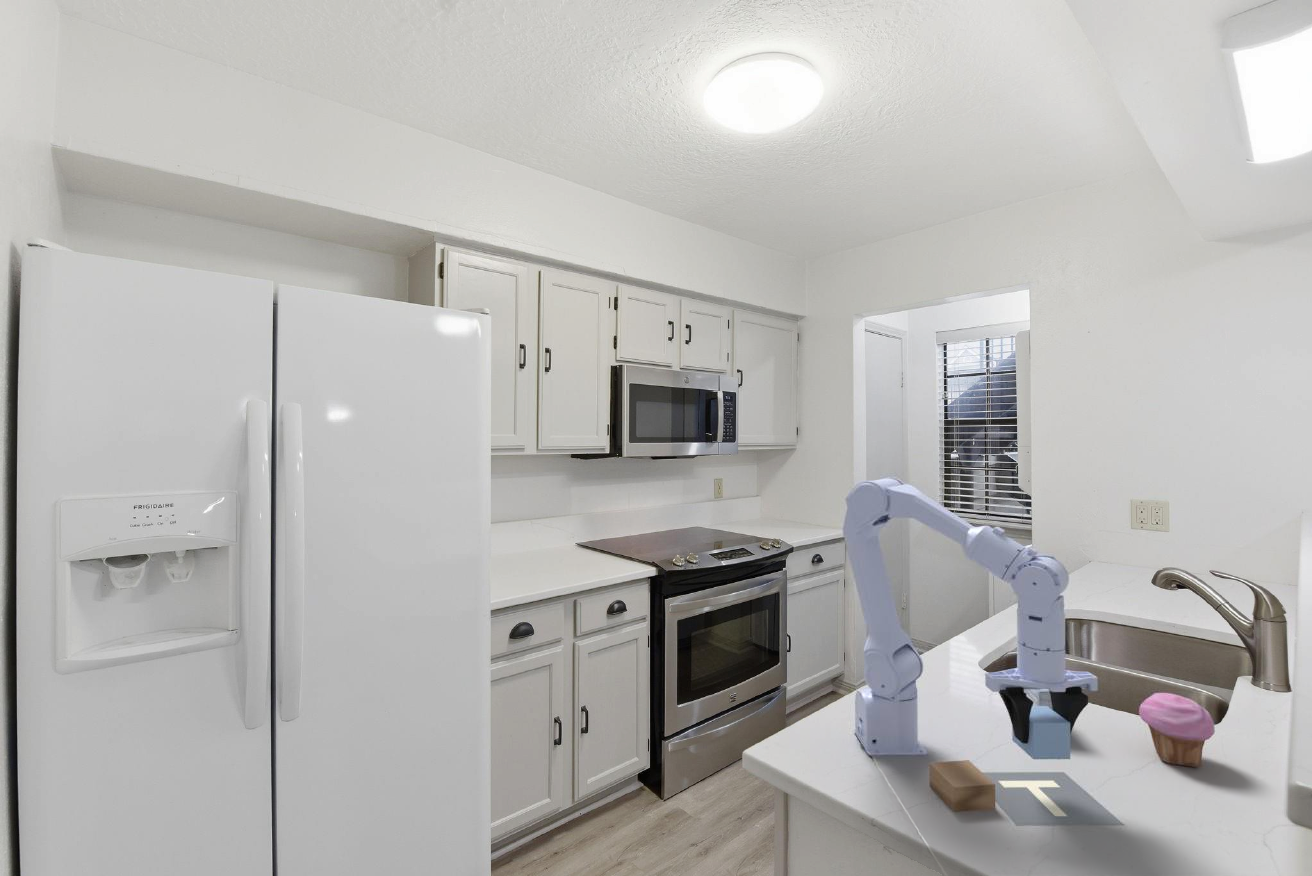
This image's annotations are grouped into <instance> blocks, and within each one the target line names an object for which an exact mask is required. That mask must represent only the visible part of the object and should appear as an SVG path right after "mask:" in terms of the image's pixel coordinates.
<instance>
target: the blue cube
mask: <svg viewBox="0 0 1312 876" xmlns="http://www.w3.org/2000/svg"><path fill="white" fill-rule="evenodd" d="M1011 728H1012V731H1011V733H1012V734H1011V736H1012V739H1011V740H1012V742H1013V743H1015V744H1016V746H1018V747H1019V748H1020V749H1021V750H1022V751H1023V752H1024V753H1026V754H1027V755H1028V756H1029V757H1030V758H1031V759H1032V760H1071V735H1070V722H1068V721H1067V720H1065V719H1064V718H1063V717H1061V716H1060V715H1059V714H1057V713H1056V712H1054V711H1053V710H1052V709H1050V708H1049V707H1048V706H1032V709H1031V712H1030V718H1029V739H1028V743H1026V744H1023V743H1022V742H1020V741H1019V740H1018V739H1017V738H1016V737H1015V735H1014V730H1013V726H1012V725H1011Z"/></svg>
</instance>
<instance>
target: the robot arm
mask: <svg viewBox="0 0 1312 876" xmlns="http://www.w3.org/2000/svg"><path fill="white" fill-rule="evenodd" d="M845 502H846V507H847V508H846V511H845V517H844V522H843V527H842V533H843V534H842V535H843V539H844V542H845V547H846V550H847V554H848V558H849V563H850V567H851V570H852V574H853V578H854V582H855V587H856V591H857V594H858V598H859V603H860V607H861V610H862V614H863V617H864V618H863V619H864V623H865V628H866V630H867V638H866V641H865V644H864V648H863V655H864V666H863V679H864V680H865V683H866V685H867V686H868V687H867V688H865V689H860V690H859V689H858V690H857V691H856V692H855V697H854V704H855V705H854V706H855V709H854V711H855V714H854V715H855V717H854V718H855V719H854V720H855V724H854V725H855V728H854V730H853V731H854V735H855V736H856V737H857V738H858V740H859V741H860V743H861V745H862V747H863V748H864V750H865V751H866V753H867V755H868V756H871V757H873V756H915V755H918V756H920V755H921V756H923V755H924V756H926V755H928V754H929V752H928V751H927V749H926V748H925V747H924V746H923V744H922V743H921V742H920V741H919V736H918V735H919V733H918V732H919V731H918V730H919V727H918V723H919V722H918V719H919V717H918V711H919V710H918V688H917V680H918V679H919V678H920V677H921V676H922V675H923V672H924V662H923V660H922V656H921V655H920V654H919V652H918V651H917V649H916V648H915V647H914V644H913V642H912V638H911V636H910V635H909V634H908V633H907V632H906V631H905V630H904V629H903V628H902V625H901V623H900V618H899V614H898V611H897V606H896V603H895V599H894V595H893V592H892V588H891V583H890V579H889V576H888V571H887V569H886V564H885V561H884V556H883V552H882V549H881V544H880V541H879V535H880V533H881V532H882V531H883V529H884V528H885V526H886V525H887V524H888V522H889V521H890V520H891V519H898V518H899V519H900V518H901V519H906V518H907V519H909V518H910V519H913V520H914V519H915V520H916V521H918V522H919V523H921V524H923V525H925V526H926V527H929V528H930V529H932V530H934V531H935V532H937V533H940V534H941V535H943V536H945V537H946V538H949V540H952V541H954V542H956V543H957V544H959V545H960V546H961V548H962V550H963V552H964V557H966V558H967V559H968V560H970V561H971V562H973V563H975V564H976V565H978V566H979V567H981V568H983V569H985V570H986V571H987V572H989V573H991V574H992V575H994V576H995V577H998V578H999V579H1000V580H1002V581H1004V582H1005V583H1007V584H1010V586H1011V589H1012V592H1014V594H1015V595H1016V596H1017V608H1016V665H1017V666H1016V667H1015V668H1010V669H1006V670H1001V671H995V672H992V671H991V672H985V675H984V677H985V678H984V679H985V680H984V681H985V687H987V689H989V690H990V691H991V692H994V693H998V694H999V695H1000V698H1001V700H1002V701H1003V704H1004V706H1005V707H1006V711H1007V712H1008V713H1007V714H1008V715H1009V719H1010V721H1011V723H1010V724H1011V727H1012V726H1013V730H1014V735H1015V737H1016V738H1017V739H1018V740H1019V741H1020V742H1022V743H1023V744H1026V743H1028V739H1029V718H1030V712H1031V709H1032V706H1033V703H1034V702H1033V701H1032V700H1031V699H1029V698H1028V697H1027V696H1026V693H1024V689H1048V690H1049V692H1050V696H1051V702H1052V709H1053V711H1054V712H1056V713H1057V714H1059V715H1060V716H1061V717H1063V718H1064V719H1065V720H1067V721H1068V722H1070V736H1071V735H1072V731H1073V728H1074V726H1075V724H1076V722H1077V720H1078V717H1079V715H1080V714H1081V713H1082V711H1083V710H1084V709H1085V708H1086V707H1087V706H1088V705H1089V696H1088V695H1087V694H1085V693H1084V692H1083V690H1088V691H1090V692H1097V691H1098V689H1099V688H1098V686H1099V682H1098V681H1099V680H1098V676H1096V675H1095V674H1093V673H1091V672H1089V671H1077V670H1076V671H1075V670H1068V669H1066V614H1065V596H1064V595H1063V594H1062V593H1064V591H1066V589H1067V587H1068V586H1069V583H1070V582H1069V581H1070V576H1069V573H1068V571H1067V569H1066V567H1065V566H1064V564H1063V563H1061V562H1060V561H1059V560H1057V559H1056V557H1054V555H1049V554H1038V553H1039V550H1037V549H1036V548H1034V547H1030V548H1028V547H1026V546H1024V545H1022V544H1021V543H1019V542H1017V541H1015V540H1014V539H1012V538H1010V537H1008V536H1006V535H1005V533H1006V530H1005V529H1004V528H1001V527H1000V526H994V527H991V526H989V525H982V526H973V525H972V524H970V523H969V522H967V521H966V520H965V519H963V518H961V517H960V516H958V515H956V514H955V513H954V512H952V511H950V510H949V509H947V508H946V507H945V506H942V505H941V504H939V503H938V502H936V501H935V500H934V499H932V498H930V497H929V496H927V495H925V493H922V492H921V491H920V490H919V489H918V488H917V487H915V486H914V485H911V484H908V483H904V482H903V481H902V480H901V479H900V478H897V477H892V476H889V477H888V476H887V477H883V478H881V479H876V480H863V481H860V482H859V483H857V484H856V485H855V486H853V488H852V489H851V491H850V492H849V493H848V494H847V496H846V497H845Z"/></svg>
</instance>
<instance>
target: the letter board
mask: <svg viewBox="0 0 1312 876" xmlns="http://www.w3.org/2000/svg"><path fill="white" fill-rule="evenodd" d="M981 772H982V771H981ZM982 773H983V774H984V775H986V776H987V777H988V778H989V779H990V780H991V781H992V782H993V783H994V784H995V804H997V805H998V806H999V807H1000V809H1002V811H1003V812H1004V813H1005V815H1007V817H1008V818H1009V819H1010V821H1012V822H1013V824H1014V825H1015V826H1018V827H1019V826H1020V827H1021V826H1022V827H1023V826H1026V827H1028V826H1125V824H1124V823H1123V822H1122V821H1121V820H1119V819H1118V818H1117V817H1116V816H1115V815H1114V814H1113V813H1111V811H1110V810H1108V809H1107V808H1106V807H1105V806H1103V805H1102V804H1101V803H1100V802H1099V801H1098V800H1097V799H1096V798H1094V797H1093V796H1092V795H1091V794H1090V793H1088V792H1087V790H1085V789H1084V788H1083V787H1082V786H1081V785H1079V784H1078V783H1077V782H1076V781H1075V780H1073V779H1072V778H1071V777H1070V776H1069V775H1068V774H1067V773H1065V772H1064V771H1027V772H1025V771H1020V772H1016V771H1013V772H1012V771H1011V772H1007V771H1005V772H1004V771H1003V772H993V771H992V772H990V771H989V772H984V771H983V772H982Z"/></svg>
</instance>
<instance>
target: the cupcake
mask: <svg viewBox="0 0 1312 876" xmlns="http://www.w3.org/2000/svg"><path fill="white" fill-rule="evenodd" d="M1138 709H1139V710H1138V713H1139V714H1138V715H1139V717H1140V719H1141V720H1142V721H1143V722H1145V724H1147V726H1148V728H1149V731H1150V735H1151V739H1152V743H1153V746H1154V749H1155V751H1156V754H1157V756H1158V757H1159V759H1160V760H1162V762H1165V763H1167V764H1175V765H1181V766H1186V767H1190V768H1191V767H1192V768H1199V767H1201V764H1202V758H1203V749H1204V748H1203V747H1204V745H1205V742H1206V741H1207V740H1209V739H1210V738H1212V737H1213V735H1214V734H1215V723H1214V719H1213V717H1212V715H1211V714H1210V712H1209V710H1207V709H1205V708H1204V707H1202V705H1200V704H1199V703H1198V702H1197V701H1194V700H1192V699H1190V698H1188V697H1185V696H1182V695H1178V694H1174V693H1170V692H1155V693H1153V694H1152V695H1150V696H1149V697H1147V698H1145V700H1144V701H1143V702H1142V703H1141V704H1140V706H1139V708H1138Z"/></svg>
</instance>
